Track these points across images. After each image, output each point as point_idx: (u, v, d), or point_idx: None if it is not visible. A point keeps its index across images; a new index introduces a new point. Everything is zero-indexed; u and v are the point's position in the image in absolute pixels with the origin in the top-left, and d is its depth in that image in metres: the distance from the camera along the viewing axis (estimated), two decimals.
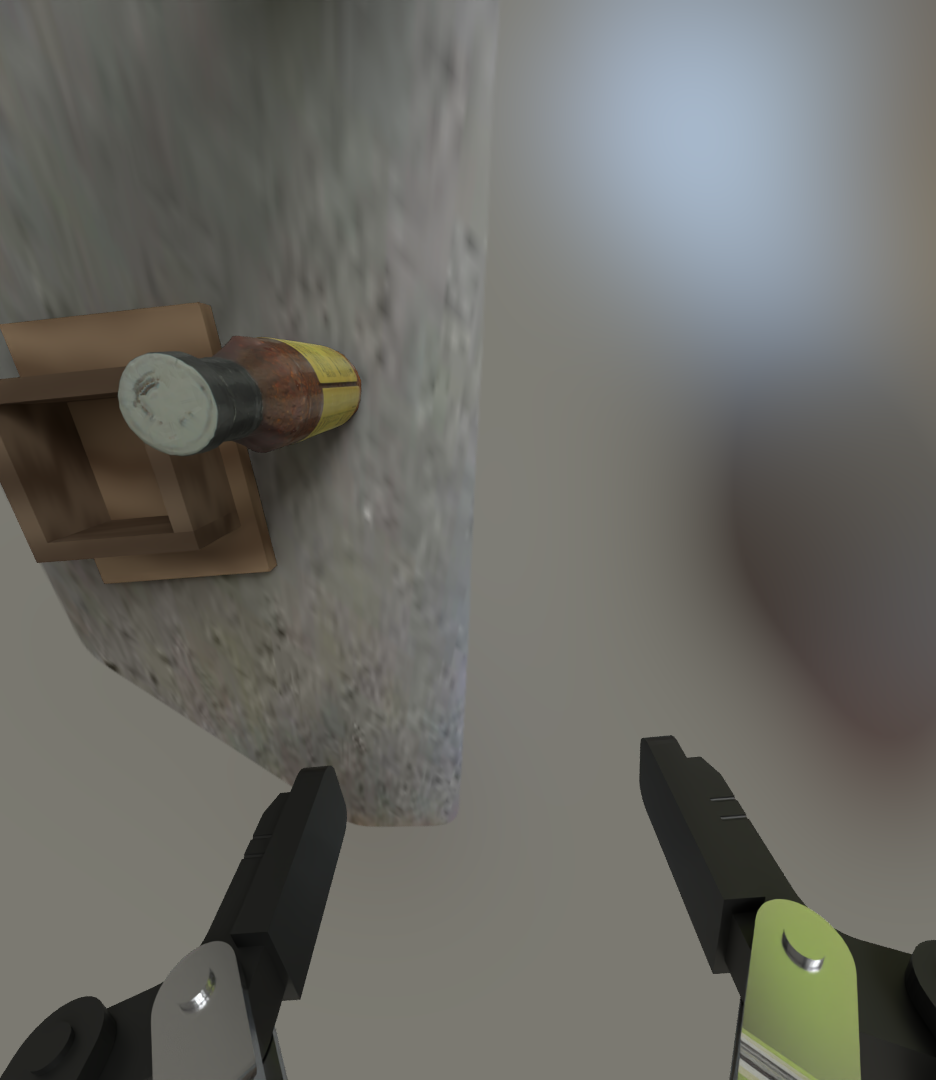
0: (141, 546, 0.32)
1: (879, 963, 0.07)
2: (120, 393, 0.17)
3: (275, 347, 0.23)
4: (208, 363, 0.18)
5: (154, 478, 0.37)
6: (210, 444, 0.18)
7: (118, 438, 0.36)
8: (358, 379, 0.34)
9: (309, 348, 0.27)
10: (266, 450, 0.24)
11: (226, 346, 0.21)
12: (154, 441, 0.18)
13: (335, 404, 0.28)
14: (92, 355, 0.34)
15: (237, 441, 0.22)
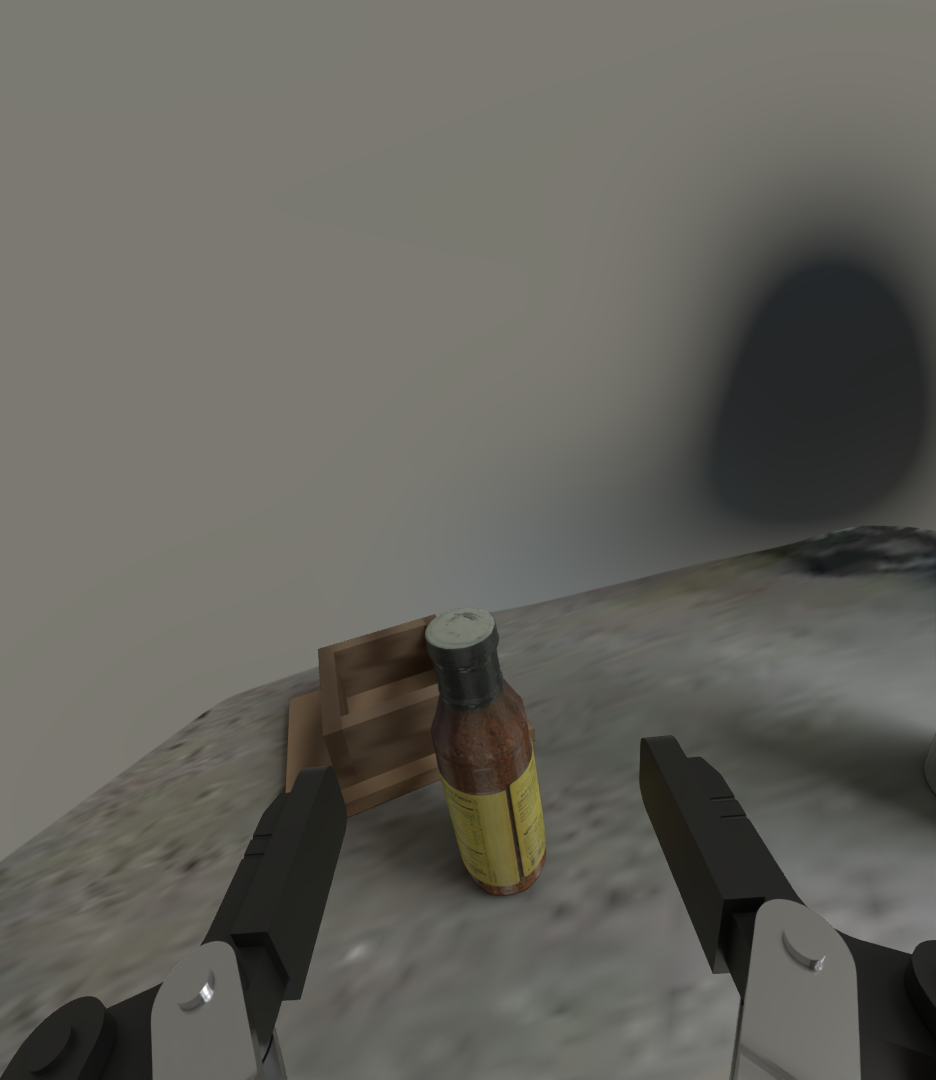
0: (328, 698, 0.38)
1: (879, 963, 0.07)
2: (460, 608, 0.26)
3: (525, 728, 0.25)
4: (496, 656, 0.24)
5: None
6: (438, 650, 0.23)
7: None
8: (526, 882, 0.28)
9: (536, 787, 0.27)
10: (433, 735, 0.25)
11: (511, 688, 0.26)
12: (432, 624, 0.24)
13: (492, 823, 0.26)
14: None
15: (438, 703, 0.25)
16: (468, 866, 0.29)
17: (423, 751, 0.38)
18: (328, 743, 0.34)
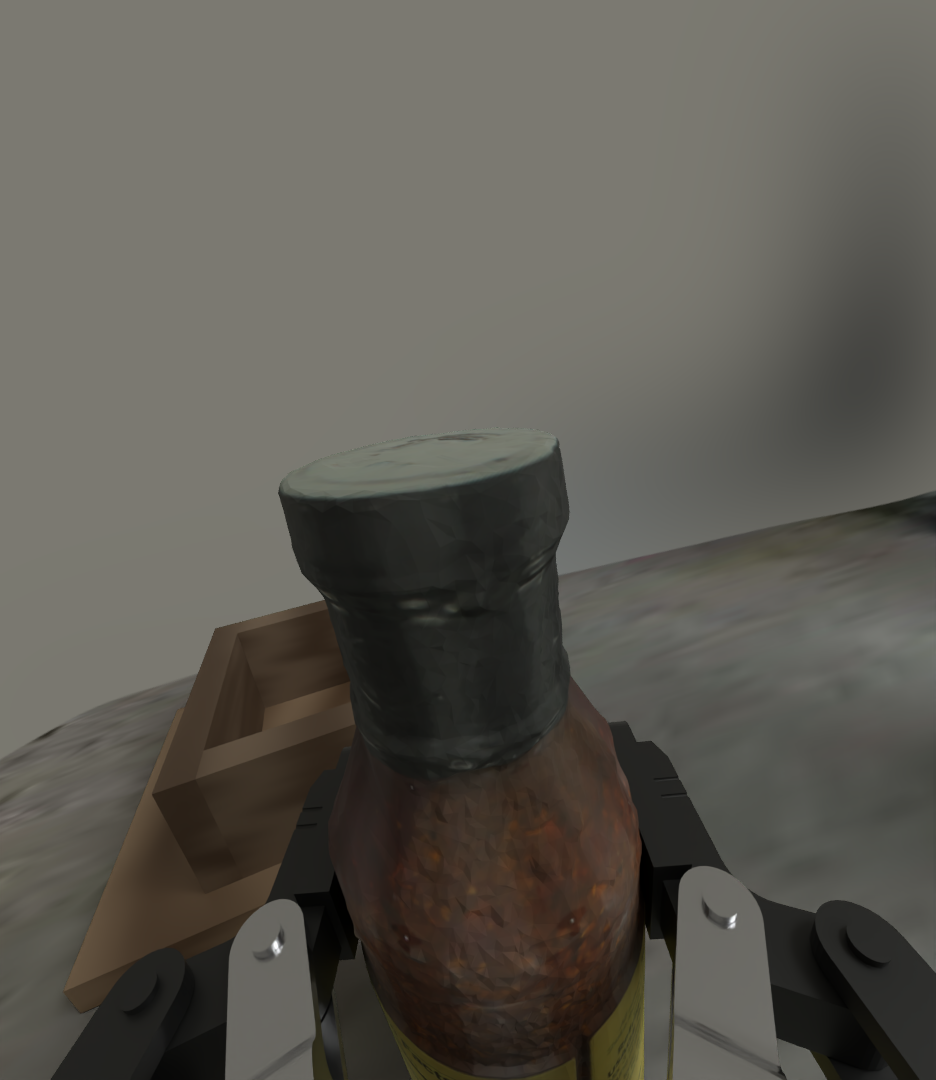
0: (196, 713, 0.20)
1: (790, 923, 0.07)
2: (432, 434, 0.08)
3: (637, 830, 0.08)
4: (556, 575, 0.07)
5: None
6: (310, 513, 0.05)
7: None
8: None
9: None
10: (334, 850, 0.08)
11: (585, 696, 0.09)
12: (327, 459, 0.07)
13: None
14: None
15: (354, 742, 0.08)
16: None
17: None
18: (166, 808, 0.17)
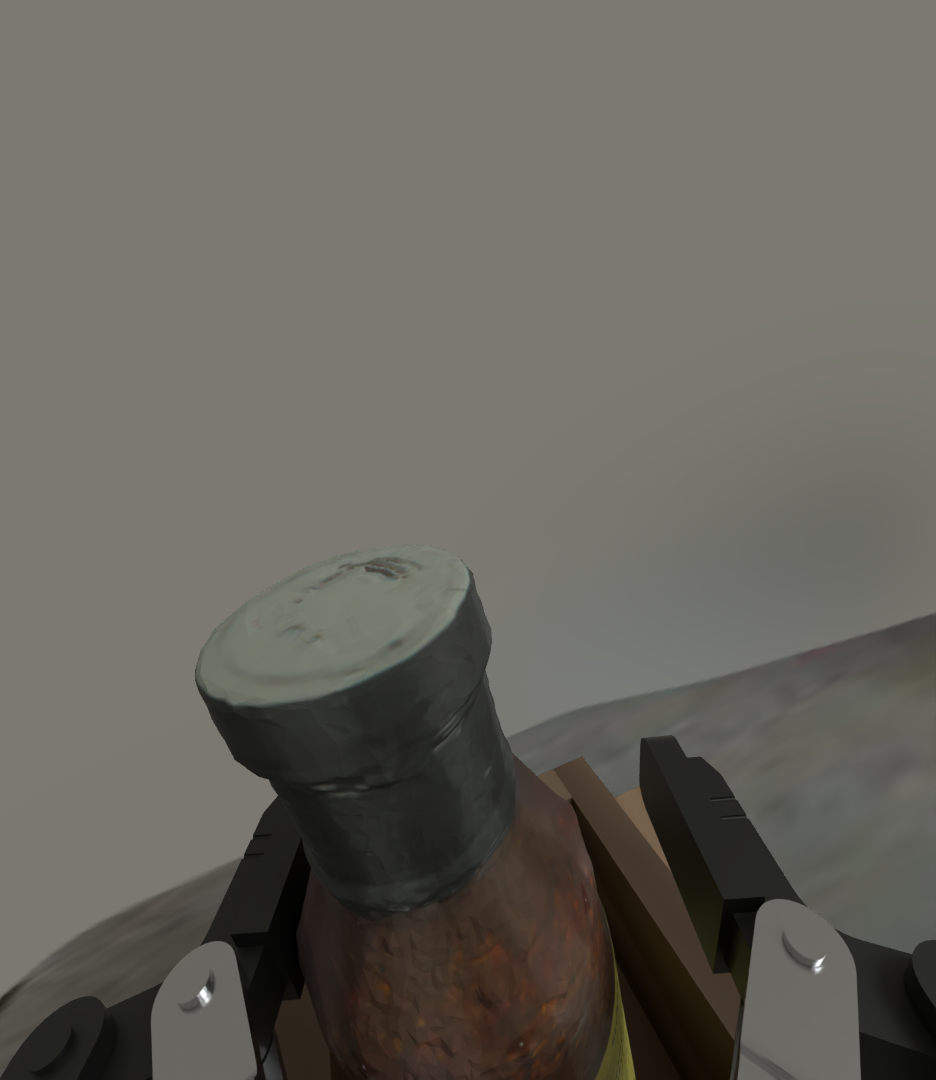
0: None
1: (879, 963, 0.07)
2: None
3: (597, 924, 0.08)
4: (486, 705, 0.07)
5: None
6: (215, 709, 0.05)
7: None
8: None
9: (626, 1041, 0.10)
10: (302, 962, 0.08)
11: (543, 784, 0.09)
12: (254, 602, 0.07)
13: None
14: None
15: None
16: None
17: None
18: None
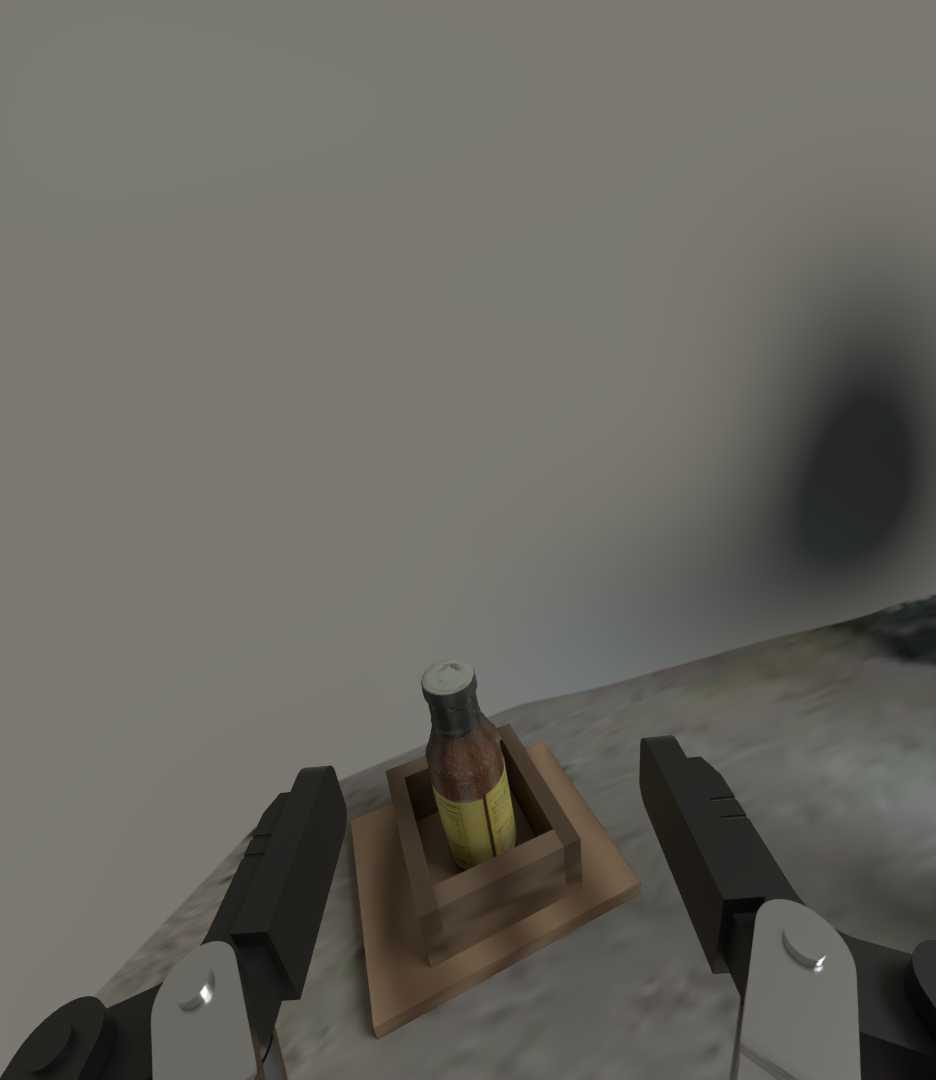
0: (413, 854, 0.34)
1: (879, 963, 0.07)
2: (448, 659, 0.33)
3: (498, 751, 0.33)
4: (475, 697, 0.32)
5: None
6: (431, 695, 0.30)
7: None
8: None
9: (507, 795, 0.35)
10: (427, 757, 0.33)
11: None
12: (427, 673, 0.32)
13: (472, 824, 0.33)
14: None
15: (431, 732, 0.33)
16: (455, 858, 0.36)
17: (520, 915, 0.34)
18: (422, 924, 0.30)
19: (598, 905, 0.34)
